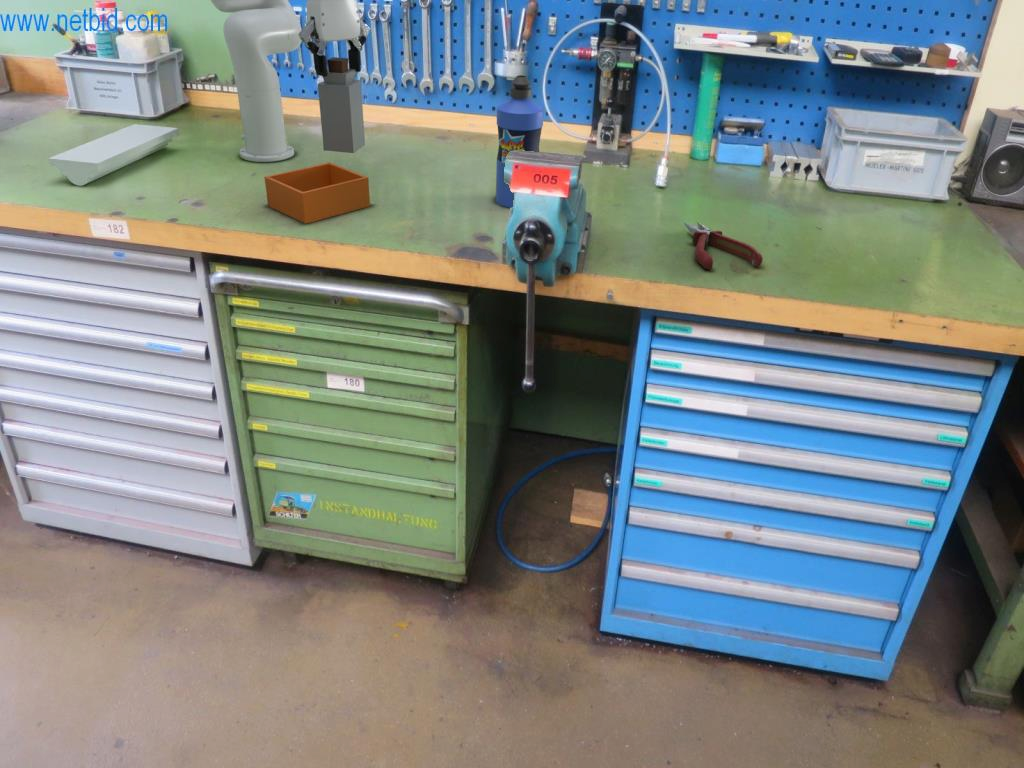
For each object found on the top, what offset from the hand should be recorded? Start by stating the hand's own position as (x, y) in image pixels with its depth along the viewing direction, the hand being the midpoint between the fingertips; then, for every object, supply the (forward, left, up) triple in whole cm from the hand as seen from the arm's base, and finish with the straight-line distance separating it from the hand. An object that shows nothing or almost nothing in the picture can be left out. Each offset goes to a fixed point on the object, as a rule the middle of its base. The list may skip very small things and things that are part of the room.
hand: (338, 72), depth 163 cm
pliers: (+78, +28, -23) cm, 86 cm away
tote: (+10, -14, -23) cm, 28 cm away
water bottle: (+34, +19, -23) cm, 45 cm away
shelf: (-41, -32, -23) cm, 57 cm away
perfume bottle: (0, 0, -16) cm, 16 cm away
